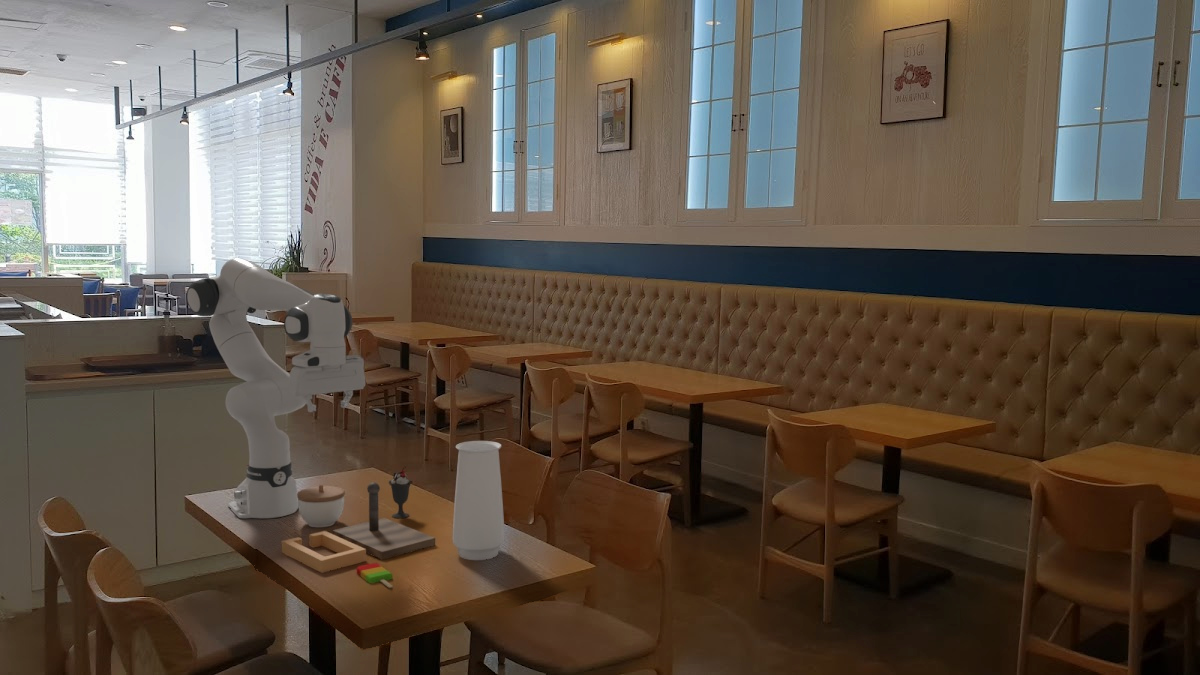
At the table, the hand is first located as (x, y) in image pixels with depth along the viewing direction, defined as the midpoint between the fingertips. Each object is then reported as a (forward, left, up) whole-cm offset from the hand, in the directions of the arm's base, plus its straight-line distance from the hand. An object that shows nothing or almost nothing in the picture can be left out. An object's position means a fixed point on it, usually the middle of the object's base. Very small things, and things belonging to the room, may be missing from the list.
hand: (328, 409), depth 240 cm
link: (+11, -8, -35) cm, 37 cm away
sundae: (-5, +25, -35) cm, 43 cm away
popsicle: (+34, -7, -35) cm, 49 cm away
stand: (+11, +9, -35) cm, 37 cm away
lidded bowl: (-14, +5, -35) cm, 38 cm away
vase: (+36, +21, -35) cm, 54 cm away
